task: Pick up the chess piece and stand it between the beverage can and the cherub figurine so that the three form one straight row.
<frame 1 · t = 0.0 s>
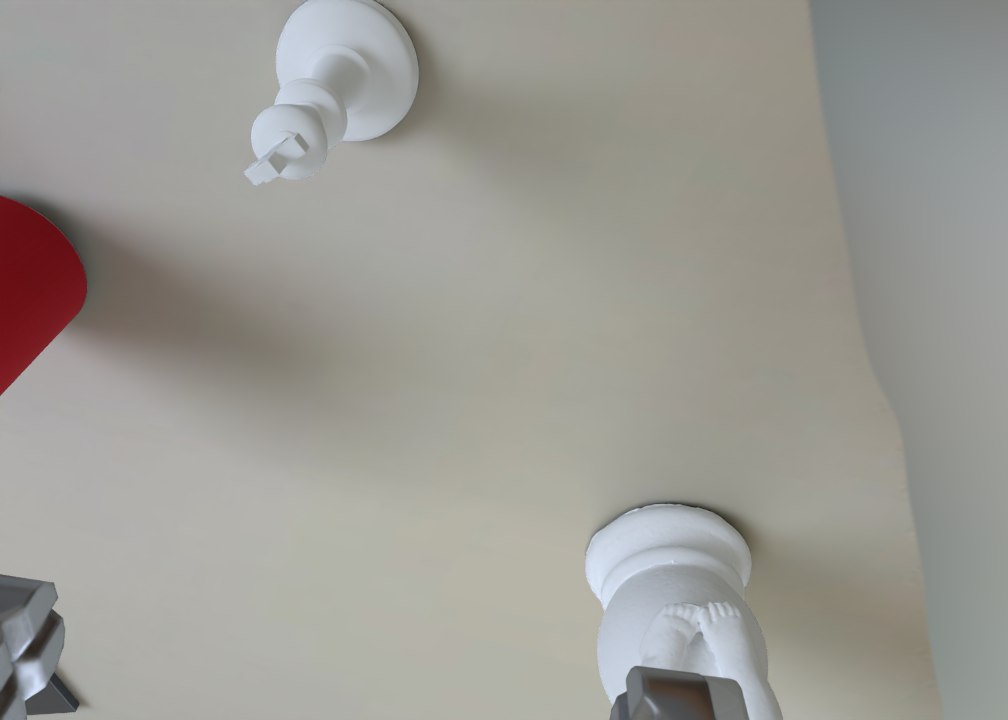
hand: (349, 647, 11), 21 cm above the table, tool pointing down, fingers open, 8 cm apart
chess piece: (350, 67, 27), on the table
cherub figurine: (685, 573, 41), on the table
beverage can: (21, 254, 32), on the table
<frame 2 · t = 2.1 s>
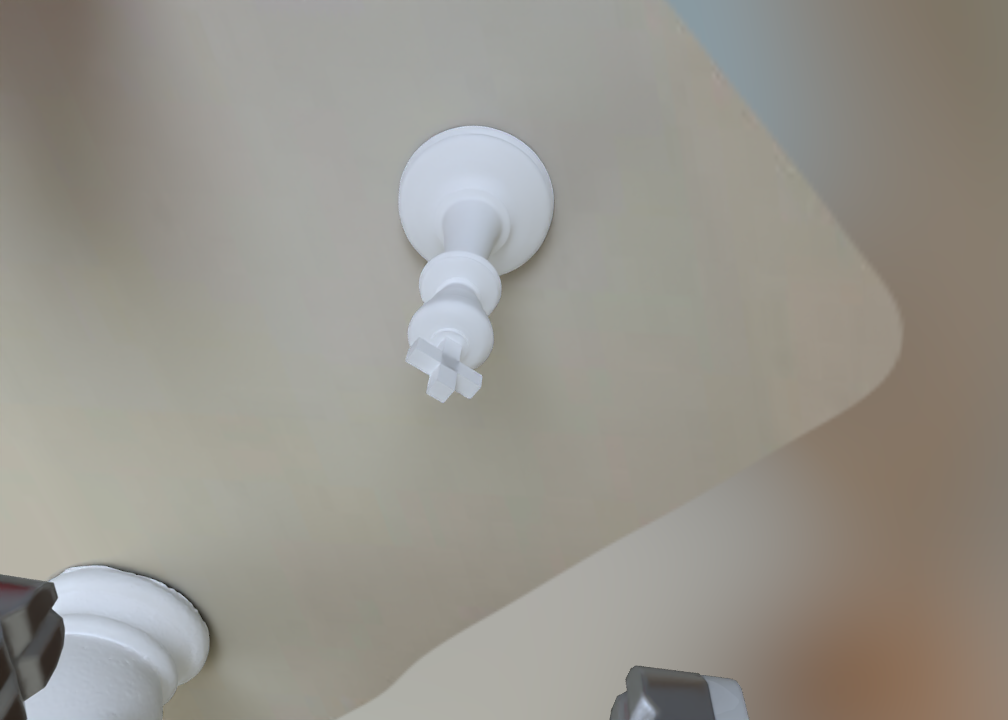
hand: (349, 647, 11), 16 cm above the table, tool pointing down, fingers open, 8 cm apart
chess piece: (476, 199, 24), on the table
cherub figurine: (122, 639, 39), on the table
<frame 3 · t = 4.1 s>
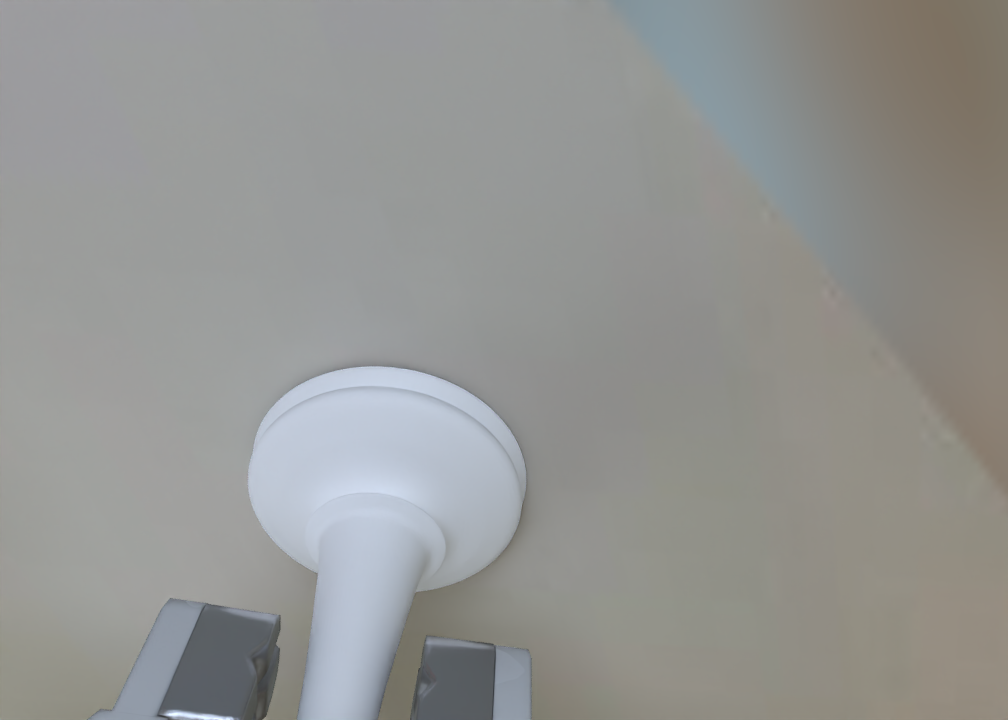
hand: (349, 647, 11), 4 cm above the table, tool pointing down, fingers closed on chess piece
chess piece: (392, 468, 14), on the table, touching gripper
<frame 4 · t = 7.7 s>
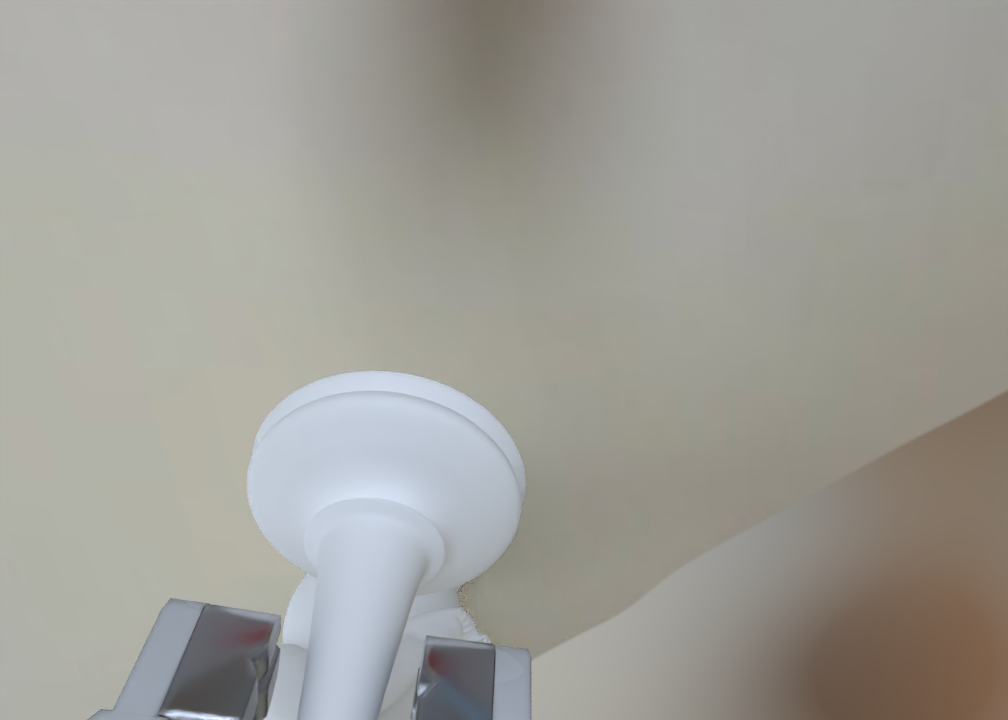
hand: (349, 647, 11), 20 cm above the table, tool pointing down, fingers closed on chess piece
chess piece: (391, 472, 14), point 16 cm above the table, touching gripper
cherub figurine: (382, 554, 40), on the table
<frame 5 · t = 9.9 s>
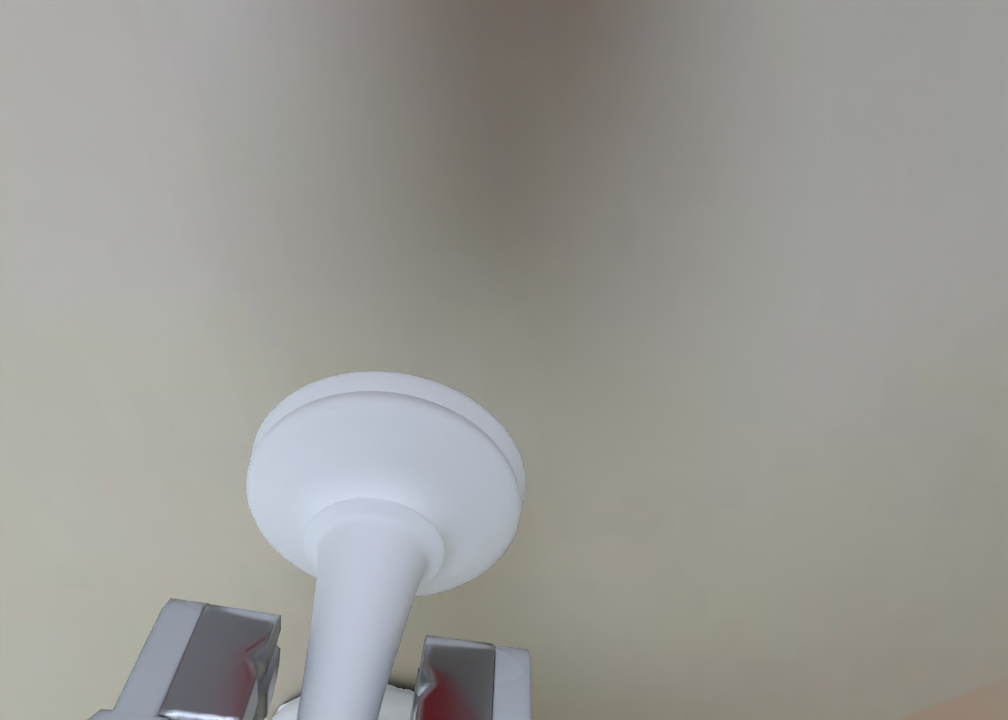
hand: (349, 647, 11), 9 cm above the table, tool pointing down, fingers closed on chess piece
chess piece: (391, 472, 14), point 6 cm above the table, touching gripper
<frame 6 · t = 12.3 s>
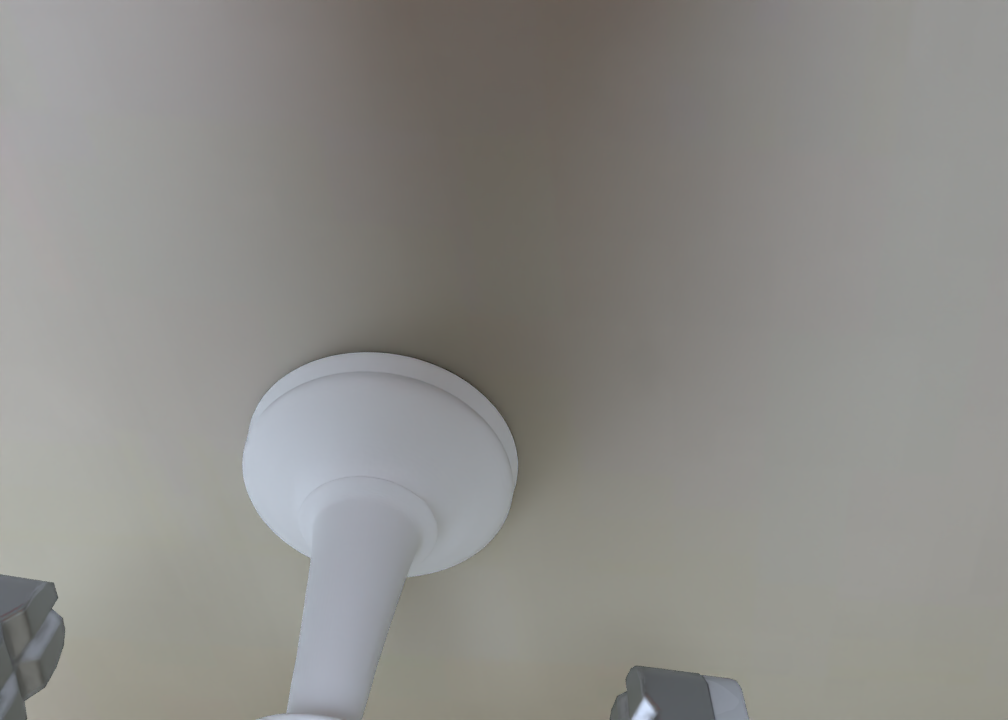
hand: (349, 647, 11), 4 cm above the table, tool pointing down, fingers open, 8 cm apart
chess piece: (385, 454, 14), on the table
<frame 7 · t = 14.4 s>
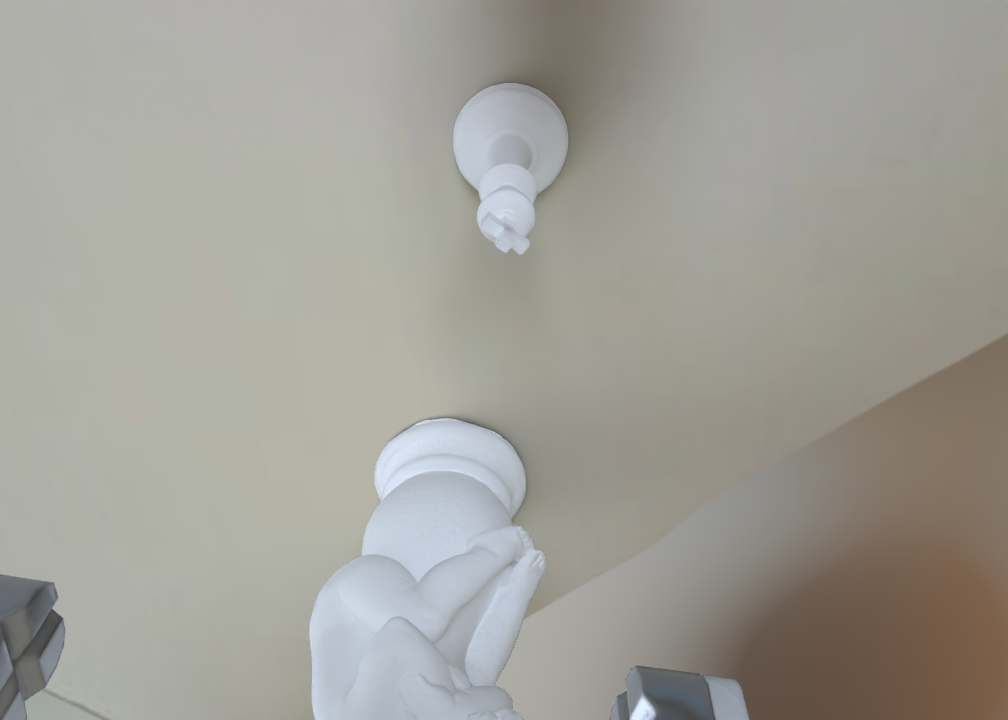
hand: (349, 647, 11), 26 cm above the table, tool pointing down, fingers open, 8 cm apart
chess piece: (510, 140, 33), on the table
cherub figurine: (437, 494, 45), on the table
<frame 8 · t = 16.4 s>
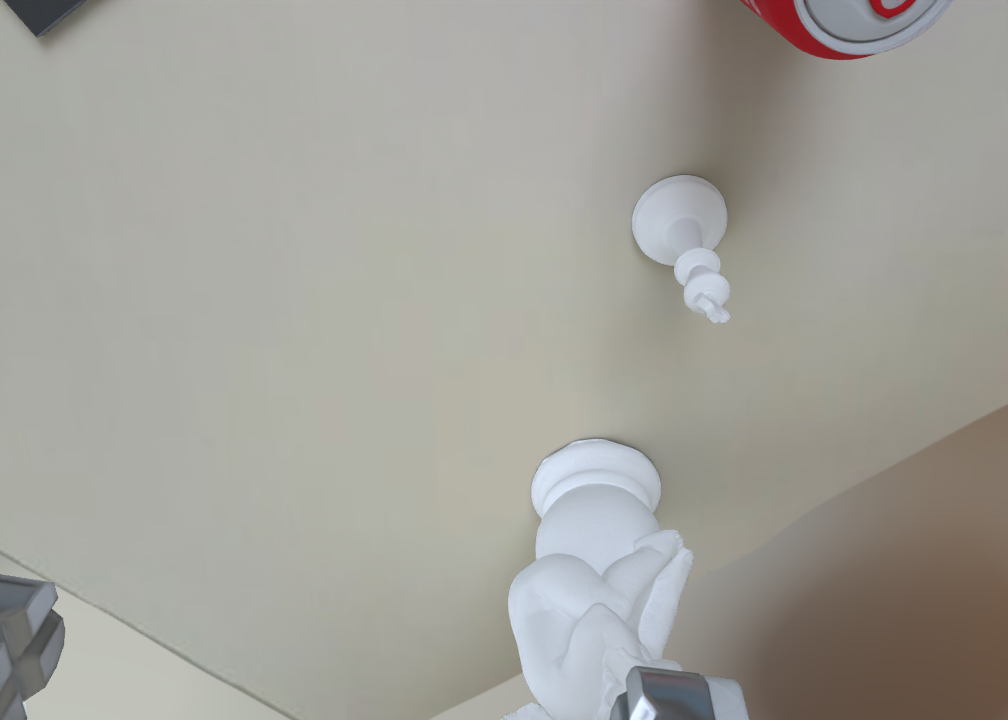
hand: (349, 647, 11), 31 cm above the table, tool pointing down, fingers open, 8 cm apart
chess piece: (678, 217, 40), on the table
cherub figurine: (580, 502, 53), on the table
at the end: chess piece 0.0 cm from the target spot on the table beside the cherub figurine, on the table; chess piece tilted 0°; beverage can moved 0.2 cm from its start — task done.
